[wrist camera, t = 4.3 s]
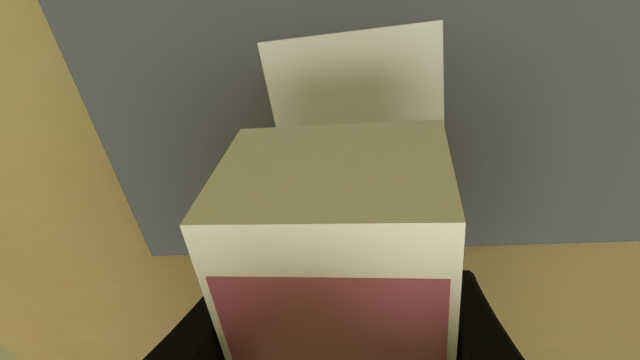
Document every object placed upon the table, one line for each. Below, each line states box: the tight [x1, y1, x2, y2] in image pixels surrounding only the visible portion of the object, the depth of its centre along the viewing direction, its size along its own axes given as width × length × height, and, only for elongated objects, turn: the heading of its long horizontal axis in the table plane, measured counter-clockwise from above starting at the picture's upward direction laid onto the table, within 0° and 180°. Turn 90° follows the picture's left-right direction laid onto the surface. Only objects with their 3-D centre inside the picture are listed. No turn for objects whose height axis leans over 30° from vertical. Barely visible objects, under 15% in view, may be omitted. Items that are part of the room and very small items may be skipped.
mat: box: [38, 0, 640, 256], centre depth 16 cm, size 18×22×1 cm
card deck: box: [180, 120, 466, 360], centre depth 12 cm, size 5×8×4 cm, turn 6°
